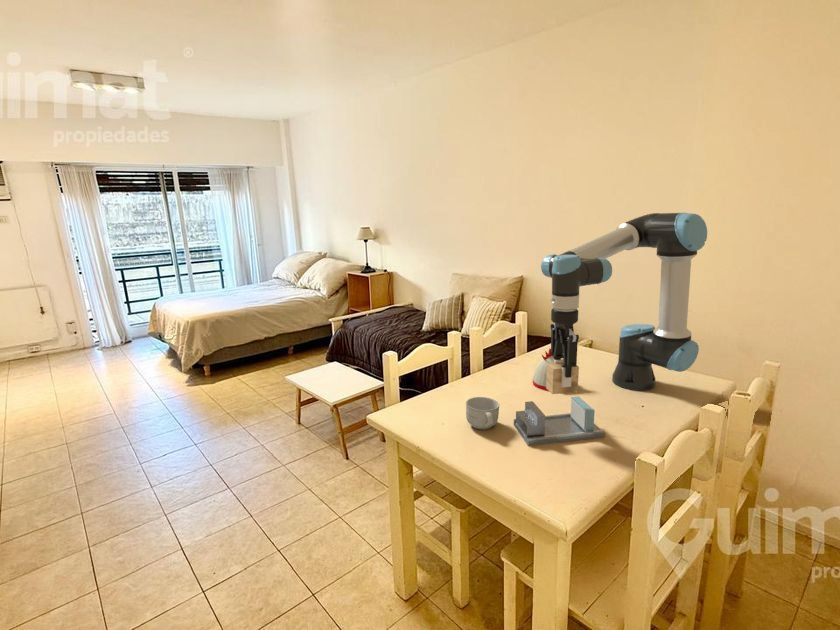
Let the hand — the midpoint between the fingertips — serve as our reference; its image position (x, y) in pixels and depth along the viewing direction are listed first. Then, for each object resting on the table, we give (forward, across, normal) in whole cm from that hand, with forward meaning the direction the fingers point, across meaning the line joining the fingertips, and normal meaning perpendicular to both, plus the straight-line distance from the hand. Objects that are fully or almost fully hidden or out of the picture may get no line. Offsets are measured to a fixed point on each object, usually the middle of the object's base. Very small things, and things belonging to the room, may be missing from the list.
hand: (562, 382), depth 132 cm
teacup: (+17, -8, -23) cm, 29 cm away
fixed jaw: (+15, -1, -10) cm, 18 cm away
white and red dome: (+17, -36, +13) cm, 41 cm away
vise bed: (+16, -1, -1) cm, 17 cm away
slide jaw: (+15, -1, +7) cm, 17 cm away
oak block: (+2, 0, 0) cm, 2 cm away
